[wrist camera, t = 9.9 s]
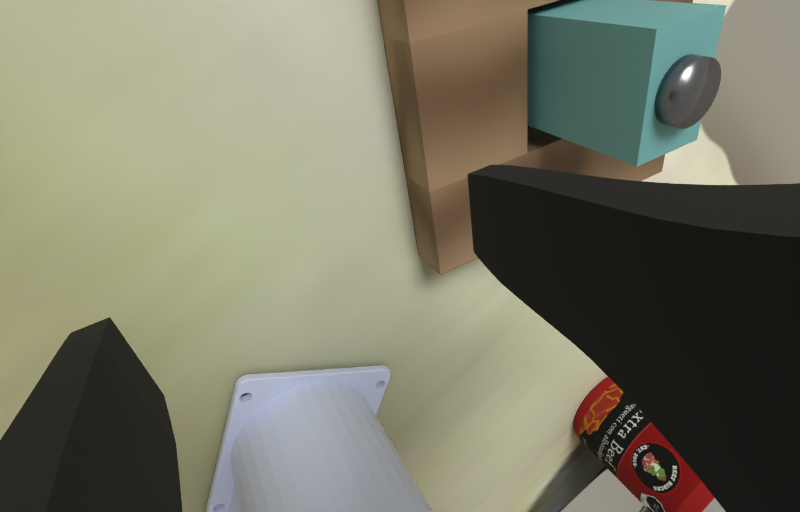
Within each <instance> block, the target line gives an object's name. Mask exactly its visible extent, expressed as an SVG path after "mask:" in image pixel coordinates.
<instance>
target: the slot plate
mask: <svg viewBox="0 0 800 512" xmlns="http://www.w3.org/2000/svg"><path fill="white" fill-rule="evenodd" d="M377 1H378V7H379V13H380V19H381V25H382V32H383V38H384V44H385V50H386V56H387V62H388V69H389V75H390V81H391V87H392V93H393V99H394V105H395V112H396V118H397V124H398V130H399V136H400V142H401V149H402V155H403V161H404V167H405V173H406V179H407V186H408V192H409V198H410V204H411V210H412V216H413V223H414V229H415V235H416V241H417V247H418V253H419V255H420V256H421V257H422V258H423V259H424V260H425V261H426V262H428V263H429V264H430V265H431V266H432V267H433V268H434V269H435V270H436V271H437V272H438V273H439V274H443V273H445V272H447V271H449V270H452V269H454V268H456V267H458V266H460V265H462V264H464V263H467V262H469V261H471V260H473V259H475V258H477V255H476V254H475V253H474V251H473V238H472V226H471V213H470V200H469V188H468V175H467V174H469V173H471V172H474V171H476V170H479V169H481V168H484V167H486V166H489V165H512V166H521V167H530V168H537V169H545V170H552V171H559V172H566V173H574V174H581V175H588V176H596V177H604V178H613V179H622V180H632V181H642V180H644V179H646V178H649V177H651V176H653V175H655V174H657V173H659V172H661V171H662V168H663V162H664V157H665V154H664V155H662V156H660V157H657V158H655V159H653V160H651V161H648V162H646V163H644V164H642V165H640V166H637V167H636V166H633V165H630V164H628V163H625V162H623V161H620V160H617V159H615V158H612V157H610V156H607V155H604V154H602V153H599V152H596V151H594V150H591V149H589V148H586V147H583V146H581V145H578V144H575V143H573V142H570V141H568V140H565V139H562V138H560V137H557V136H554V135H552V134H549V133H547V132H544V131H541V130H539V129H536V128H534V127H531V128H529V129H527V49H528V9H531V8H534V7H538V6H541V5H545V4H548V3H552V2H555V1H558V0H377ZM651 1H666V2H681V3H692V2H693V0H651Z"/></svg>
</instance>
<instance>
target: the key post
mask: <svg viewBox="0 0 800 512" xmlns="http://www.w3.org/2000/svg"><path fill="white" fill-rule="evenodd" d="M725 8H726V5H712V4H697V3H681V2H666V1H651V0H558V1H555V2H552V3H548V4H545V5H541V6H538V7H534V8H531V9H528V49H527V125H528V126H531V127H534V128H536V129H539V130H541V131H544V132H547V133H549V134H552V135H554V136H557V137H560V138H562V139H565V140H568V141H570V142H573V143H575V144H578V145H581V146H583V147H586V148H589V149H591V150H594V151H596V152H599V153H602V154H604V155H607V156H610V157H612V158H615V159H617V160H620V161H623V162H625V163H628V164H630V165H633V166H636V167H637V166H640V165H642V164H644V163H646V162H648V161H651V160H653V159H655V158H657V157H660V156H662V155H664V154H666V153H668V152H671V151H673V150H675V149H677V148H679V147H682V146H684V145H686V144H688V143H690V142H693V141H695V140H697V136H698V132H699V127H700V123H701V118H702V117H703V116H704V115H705V114H706V112H707V111H708V109H709V108H710V106H711V105H712V103H713V101H714V99H715V96H716V94H717V91H718V89H719V85H720V79H721V68H720V65H719V62H718V61H717V60H716V59H715V54H716V49H717V45H718V40H719V35H720V31H721V26H722V22H723V17H724V13H725Z"/></svg>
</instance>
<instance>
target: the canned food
mask: <svg viewBox="0 0 800 512" xmlns="http://www.w3.org/2000/svg"><path fill="white" fill-rule="evenodd" d="M574 429H575V432H576V434H577V436H578V437H579V439H580V441H581V442H582V443H583V444H584V445H585V446H586V447H587V448H588V449H589V450H590V451H591V452H592V453H593V454H594V455H595V456H596V457H597V458H598V459H599V460H600V461H601V462H602V463H603V464H604V465H605V466H606V467H607V468H608V469H609V470H610V471H611V472H612V473H613V474H614V475H615V476H616V477H617V478H618V479H619V480H620V481H621V482H622V483H623V484H624V486H626V488H628V490H629V491H630V492H631V493H632V494H633V495H634V496H635V497H636V498H637V499H638V500H639V501H640V502H641V503H642V504H643V505H644V506H645V507H646V508H647V509H648V510H649V511H650V512H726V511H725V510H724V509H723V508H722V506H721V505H720V504H719V503H718V501H717V500H716V499H715V497H714V496H713V495H712V494H711V492H710V491H709V490H708V489H707V487H706V486H705V485H704V484H703V482H702V481H701V480H700V479H699V477H698V476H697V475H696V474H695V472H694V471H693V470H692V469H691V468H690V467H689V465H688V464H687V463H686V462H685V461H684V460H683V458H682V457H681V456H680V455H679V454H678V453H677V451H676V450H675V449H674V448H673V447H672V445H671V444H670V443H669V442H668V441H667V440H666V438H665V437H664V436H663V435H662V434H661V433H660V431H659V430H658V429H657V428H656V427H655V426H654V425H653V424H652V423H651V422H650V420H649V419H648V418H647V417H646V416H645V415H644V414H643V413H642V412H641V411H640V410H639V408H638V407H637V406H636V405H635V404H634V403H633V402H632V401H631V400H630V399H629V398H628V396H627V395H626V394H625V393H624V392H623V391H622V390H621V389H620V388H619V387H618V386H617V385H616V384H615V383H614V382H613V381H612V380H611V379H610V378H609V377H607V378H606V379H604V380H603V381H602V382H600V383H599V384H598V385H597V386H596V387H595V388H594V389H593V390H592V391H591V392H590V393H589V394H588V395H587V397H586V398H585V399H584V401H583V402H582V404H581V406H580V407H579V409H578V411H577V414H576V416H575V421H574Z"/></svg>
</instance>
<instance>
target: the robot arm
mask: <svg viewBox="0 0 800 512" xmlns="http://www.w3.org/2000/svg"><path fill="white" fill-rule="evenodd" d="M467 175H468V188H469V200H470V213H471V226H472V238H473V251H474V253H475V254H476V255H477V257H478V258H479V259H480V260H481V261H482V262H483V264H484V265H485V266H486V267H487V268H488V269H489V271H490V272H491V273H492V274H493V275H494V276H495V277H496V278H497V279H498V280H499V281H500V282H501V283H502V284H503V285H504V286H505V287H506V288H507V289H509V290H510V291H511V292H512V293H513V294H514V295H516V296H517V297H518V298H519V299H520V300H522V301H523V302H524V303H525V304H526V305H528V306H529V307H530V308H531V309H532V310H534V311H535V312H536V313H537V314H538V315H540V316H541V317H542V318H543V319H545V320H546V321H547V322H548V323H549V324H551V325H552V326H553V327H554V328H555V329H557V330H558V331H559V332H560V333H561V334H563V335H564V336H565V337H566V338H568V339H569V340H570V341H571V342H572V343H574V344H575V345H576V346H577V347H578V348H579V349H580V350H581V351H583V352H584V353H585V354H586V355H587V356H588V357H589V358H590V359H591V360H592V361H594V363H595V364H596V365H597V366H598V367H599V368H600V369H601V370H602V371H603V372H604V373H605V374H606V375H607V376H608V377H609V378H610V379H611V380H612V381H613V382H614V383H615V384H616V385H617V386H618V387H619V388H620V389H621V390H622V391H623V392H624V393H625V394H626V395H627V396H628V398H629V399H630V400H631V401H632V402H633V403H634V404H635V405H636V406H637V407H638V408H639V410H640V411H641V412H642V413H643V414H644V415H645V416H646V417H647V418H648V419H649V420H650V422H651V423H652V424H653V425H654V426H655V427H656V428H657V429H658V430H659V431H660V433H661V434H662V435H663V436H664V437H665V438H666V440H667V441H668V442H669V443H670V444H671V445H672V447H673V448H674V449H675V450H676V451H677V453H678V454H679V455H680V456H681V457H682V458H683V460H684V461H685V462H686V463H687V464H688V465H689V467H690V468H691V469H692V470H693V471H694V472H695V474H696V475H697V476H698V477H699V479H700V480H701V481H702V482H703V484H704V485H705V486H706V487H707V489H708V490H709V491H710V492H711V494H712V495H713V496H714V497H715V499H716V500H717V501H718V503H719V504H720V505H721V506H722V508H723V509H724V510H725V511H726V512H800V183H798V184H772V185H693V184H669V183H654V182H643V181H632V180H622V179H613V178H604V177H596V176H588V175H581V174H574V173H566V172H559V171H552V170H545V169H537V168H530V167H521V166H512V165H489V166H486V167H484V168H481V169H479V170H476V171H474V172H471V173H469V174H467ZM390 377H391V371H390V370H389V368H388V367H387V366H384V365H381V366H367V367H352V368H337V369H323V370H308V371H293V372H278V373H264V374H249V375H244V376H242V377H240V378H239V379H238V380H237V381H236V383H235V386H234V391H233V395H232V399H231V404H230V408H229V412H228V417H227V421H226V425H225V430H224V434H223V438H222V443H221V447H220V451H219V455H218V460H217V464H216V468H215V473H214V477H213V481H212V486H211V490H210V494H209V499H208V503H207V507H206V512H433V511H432V509H431V508H430V506H429V504H428V503H427V501H426V499H425V498H424V496H423V494H422V493H421V491H420V489H419V488H418V486H417V484H416V483H415V481H414V479H413V478H412V476H411V474H410V473H409V471H408V469H407V467H406V466H405V464H404V462H403V461H402V459H401V457H400V456H399V454H398V452H397V451H396V449H395V447H394V446H393V444H392V442H391V441H390V439H389V437H388V436H387V434H386V432H385V431H384V429H383V427H382V426H381V424H380V422H379V421H378V419H377V417H376V414H377V411H378V409H379V406H380V403H381V401H382V398H383V395H384V393H385V390H386V387H387V385H388V382H389V379H390ZM378 382H379V383H378ZM245 393H248V394H247V395H245V396H241V395H243V394H245ZM0 512H182V502H181V491H180V480H179V470H178V460H177V450H176V443H175V438H174V434H173V430H172V425H171V421H170V417H169V413H168V409H167V405H166V402H165V398H164V395H163V393H162V392H161V390H160V389H159V387H158V386H157V384H156V383H155V382H154V380H153V379H152V377H151V376H150V374H149V373H148V371H147V370H146V369H145V367H144V366H143V364H142V363H141V361H140V360H139V358H138V357H137V356H136V354H135V353H134V351H133V350H132V348H131V347H130V346H129V344H128V343H127V341H126V340H125V338H124V337H123V335H122V334H121V333H120V331H119V330H118V328H117V327H116V325H115V324H114V322H113V321H112V320H111V318H110V317H109V318H107V319H104V320H102V321H99V322H97V323H94V324H92V325H89V326H87V327H84V328H82V329H79V330H77V331H74V332H72V333H70V335H69V336H68V337H67V339H66V340H65V341H64V343H63V344H62V346H61V347H60V349H59V350H58V352H57V353H56V355H55V356H54V358H53V360H52V361H51V363H50V364H49V366H48V367H47V369H46V371H45V372H44V374H43V375H42V377H41V379H40V380H39V382H38V383H37V385H36V386H35V388H34V390H33V391H32V393H31V394H30V396H29V397H28V399H27V400H26V402H25V403H24V405H23V406H22V408H21V409H20V411H19V413H18V414H17V416H16V417H15V419H14V420H13V422H12V423H11V425H10V426H9V428H8V429H7V431H6V432H5V434H4V435H3V437H2V438H1V440H0Z"/></svg>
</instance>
